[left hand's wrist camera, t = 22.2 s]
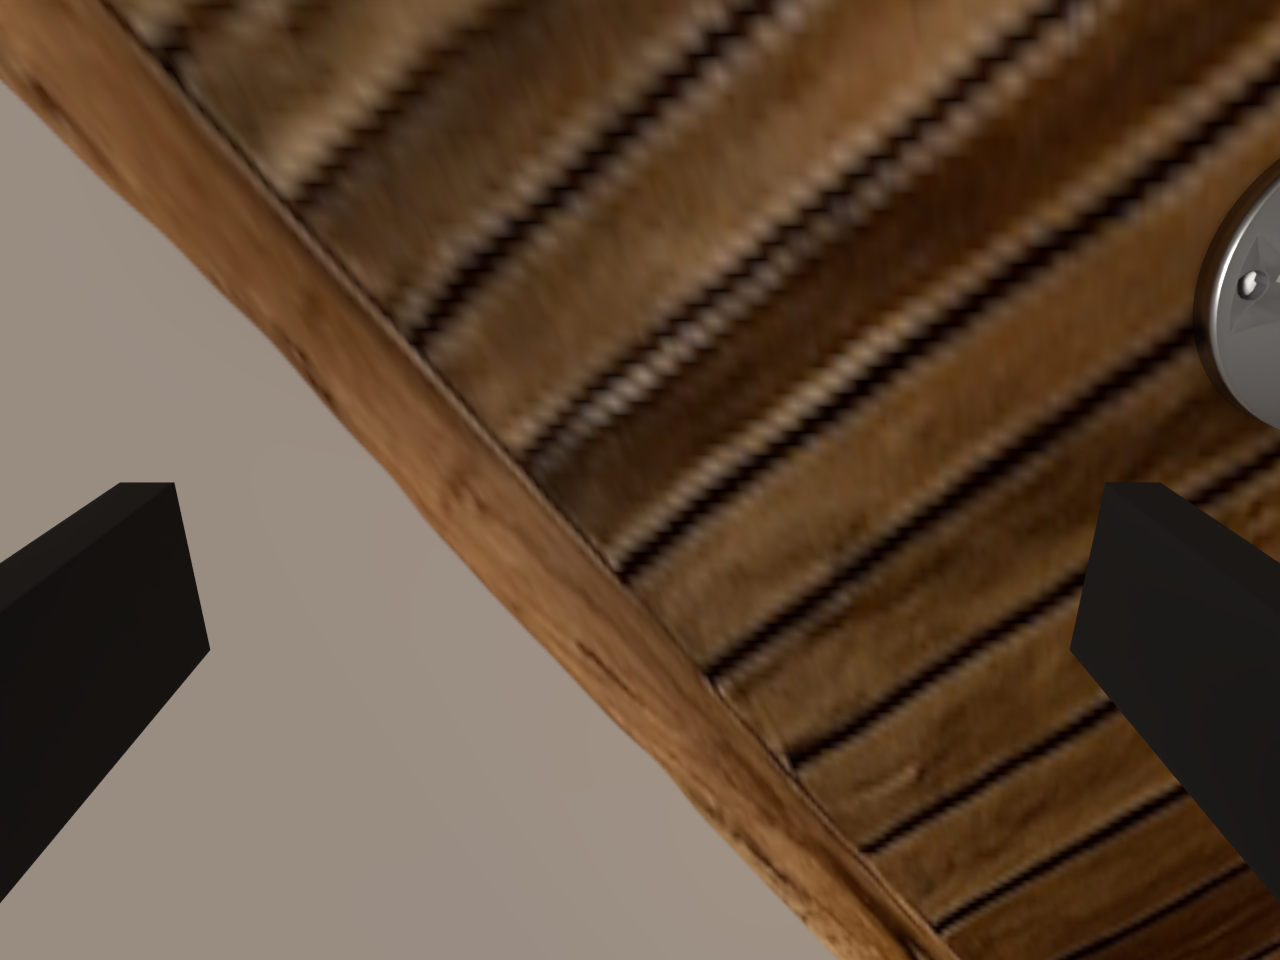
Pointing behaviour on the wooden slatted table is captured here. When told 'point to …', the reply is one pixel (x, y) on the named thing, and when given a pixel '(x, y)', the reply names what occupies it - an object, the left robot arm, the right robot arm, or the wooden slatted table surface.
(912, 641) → the wooden slatted table surface
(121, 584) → the left robot arm
